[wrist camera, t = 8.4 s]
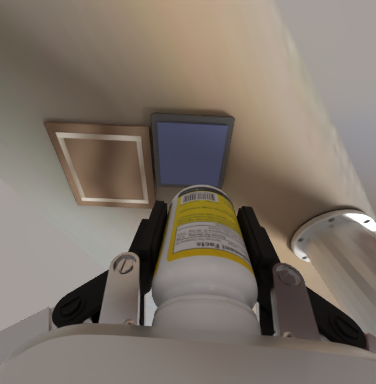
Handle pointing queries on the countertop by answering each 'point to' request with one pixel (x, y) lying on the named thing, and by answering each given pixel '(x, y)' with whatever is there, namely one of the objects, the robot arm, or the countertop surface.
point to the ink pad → (190, 149)
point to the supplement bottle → (204, 267)
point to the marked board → (106, 163)
